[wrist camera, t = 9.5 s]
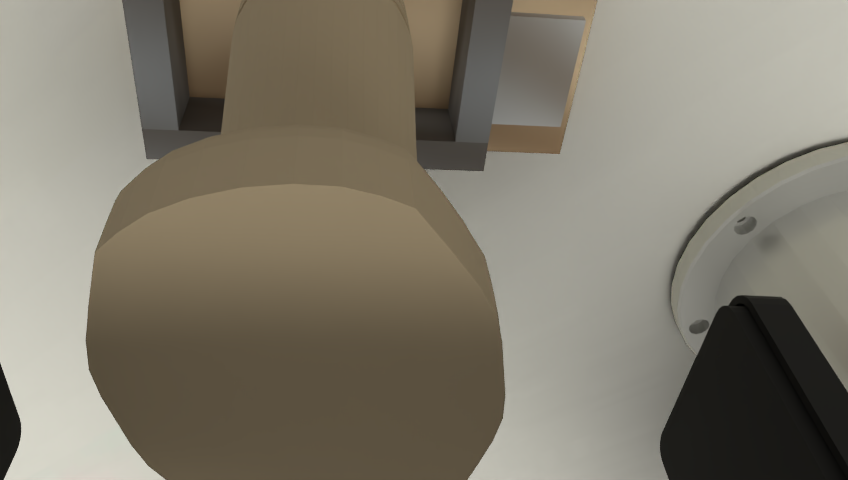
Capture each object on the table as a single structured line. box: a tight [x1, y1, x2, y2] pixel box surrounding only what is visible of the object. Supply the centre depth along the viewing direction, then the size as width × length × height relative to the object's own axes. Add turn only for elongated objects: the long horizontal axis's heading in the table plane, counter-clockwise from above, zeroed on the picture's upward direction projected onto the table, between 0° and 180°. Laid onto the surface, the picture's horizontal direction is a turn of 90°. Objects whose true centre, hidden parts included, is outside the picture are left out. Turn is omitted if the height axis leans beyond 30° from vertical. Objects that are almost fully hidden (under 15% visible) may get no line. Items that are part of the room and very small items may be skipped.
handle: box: [86, 0, 505, 480], centre depth 15 cm, size 5×6×15 cm
